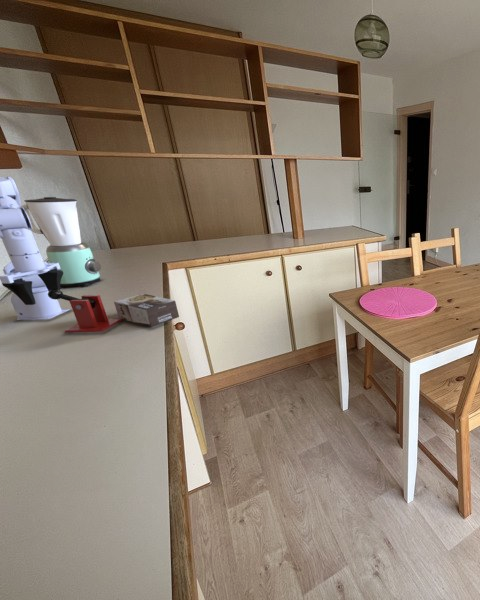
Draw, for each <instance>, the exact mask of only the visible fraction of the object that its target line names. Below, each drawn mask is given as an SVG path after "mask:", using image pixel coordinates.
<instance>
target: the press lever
mask: <svg viewBox="0 0 480 600" xmlns="http://www.w3.org/2000/svg"><path fill="white" fill-rule="evenodd" d="M48 296H49V298H51V299H55V300H57V299H58V300H60V299H61V300H64V301H68V302H69V301H71V300H89V302H90V305H91V308H94V307H95V301H96V300H93V299H89V298H86V297H85V298H82V297H81V298H78V297H74V296H71V295H67V294H65V293H64V292H63V291H62V290H61V289H60V290H58V289H53V290H50V291H49V292H48Z"/></svg>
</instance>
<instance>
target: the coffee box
mask: <svg viewBox="0 0 480 600" xmlns="http://www.w3.org/2000/svg"><path fill="white" fill-rule="evenodd" d="M113 303H114V306H115V310H116V314H117V316H118V319H122V320H124V321H127V322H131V323H134V324H137V325H142V326H145V327H148V328H153V327H156V326H159V325H162V324H164V323H167V322H170V321H173V320H175V319H178V318H180V313H179V311H178V310H179V309H178V307H177V302H176V300H173V299H170V298H164V297H160V296H156V295H151V294H147V293H140V294H137V295H132V296H129V297H126V298H122V299H119V300H115V301H114V302H113Z"/></svg>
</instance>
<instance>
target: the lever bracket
mask: <svg viewBox="0 0 480 600" xmlns="http://www.w3.org/2000/svg"><path fill="white" fill-rule="evenodd" d="M85 297H86V298H89V299H93V300H96V301H95V307H94V308H91V305H90V302H89V300H71V301H68V302H69V304H70V307H71V309H72V312H73V314H74V317H75V320H76V323H77V324H75V325H73V326H71V327H69V328H67V329H65V330H64V331H65V332H64V333H66V334H69V333H104V332H105V331H107V330H108V329H110V328H112V327H113V326H115V325H117V324H119V323H120V322H123V319H120V318H108V315H107V312H106V309H105V307H104V306H105V305H104V304H103V300H102V297H101V295H100V294H83V295H81V299H82V298H85Z"/></svg>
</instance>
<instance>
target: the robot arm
mask: <svg viewBox="0 0 480 600" xmlns="http://www.w3.org/2000/svg"><path fill="white" fill-rule="evenodd" d="M21 206H22V200H21V197H20V192H19V189H18V187H17V184H16V182H15V180H14V178H13V177H10V176H0V239H1V241H2V243H3V246H4V248H5V250H6V252H7V255H8V257H9V260H10V262H9V263H7V264H6V265H5V266H4V267H3V269H2V272H3V275H0V283H1V284H2V286H3V287H4V288H6V289H7V290H8V291H10V292H12V295H11V297H10V302H11V304H12V307H13V309H14V311H15V313H16V315H17V318H16V319H15V320H16V321H19V320H21V321H22V320H27V321H28V320H50V319H52V318H54V317H57V316H59V315H61V314H64V313H66V312H68V311H70V310H71V309H70V308H68V309H67V308H64V309H63V308H62V306H61V305H60V302H59V299H57V300H55V299H51V298H49V296H48V292H49V291H50V290H53V289H58V290H60V291H61V288H60V283H61V278H62V276H63V274H64V273H63V271H62V270H58V269H61V268H60V265H59V263H50V262H49V263H48V262H47V261H44V259H43V257H42V254H41V252H40V249H39V247H38V244H37V241H36V239H35V236H34V233H33V232H32V231H31V230H29V229H28V228H31V229H32V224H31V221H30V219H29V216H28V214H27V212H26V211H25V210H24V208H22V207H21Z"/></svg>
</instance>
